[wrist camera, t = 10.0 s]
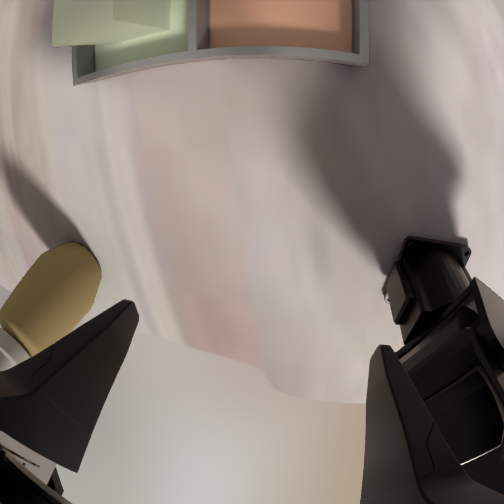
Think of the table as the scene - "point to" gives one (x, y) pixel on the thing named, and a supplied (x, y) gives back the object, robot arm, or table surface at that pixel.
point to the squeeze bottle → (47, 302)
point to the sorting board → (237, 36)
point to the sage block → (107, 21)
